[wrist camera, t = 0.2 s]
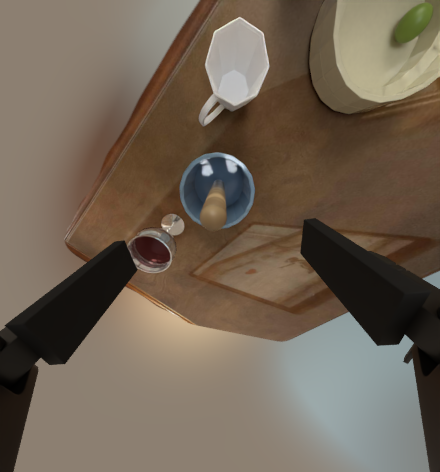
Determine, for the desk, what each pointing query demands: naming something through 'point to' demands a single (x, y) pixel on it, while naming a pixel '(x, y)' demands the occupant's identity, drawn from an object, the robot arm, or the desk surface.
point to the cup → (234, 67)
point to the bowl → (370, 54)
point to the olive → (413, 22)
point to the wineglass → (156, 245)
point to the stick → (214, 208)
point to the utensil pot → (201, 180)
